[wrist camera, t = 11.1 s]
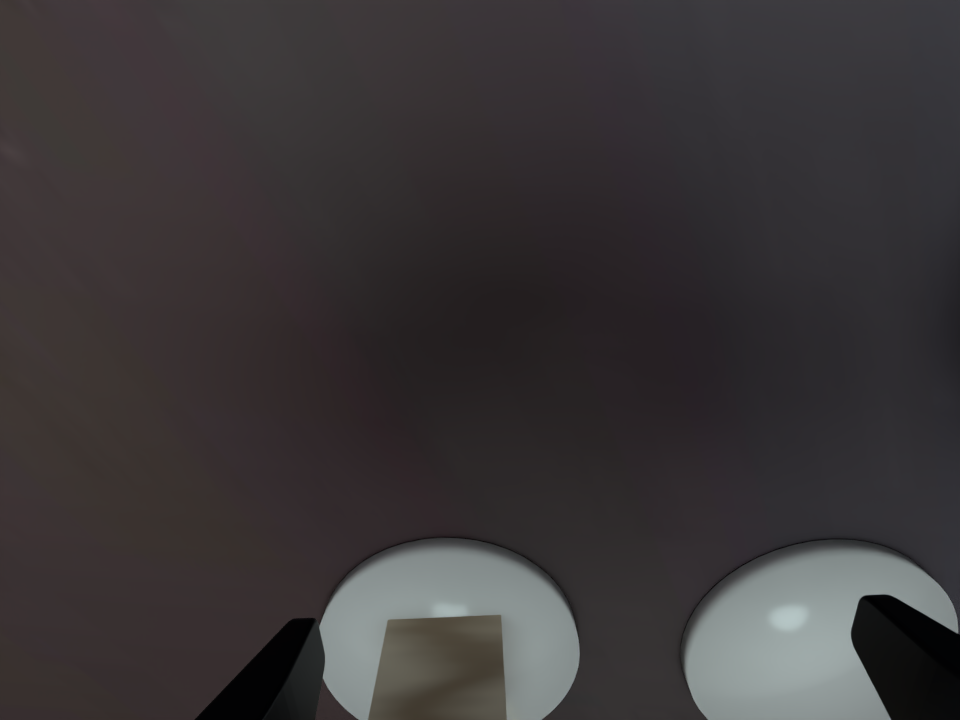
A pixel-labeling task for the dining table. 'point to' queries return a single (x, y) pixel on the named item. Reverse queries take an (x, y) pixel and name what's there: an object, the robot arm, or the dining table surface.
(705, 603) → the shallow white plate
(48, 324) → the dining table surface
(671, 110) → the dining table surface
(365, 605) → the pale round disc
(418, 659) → the block
